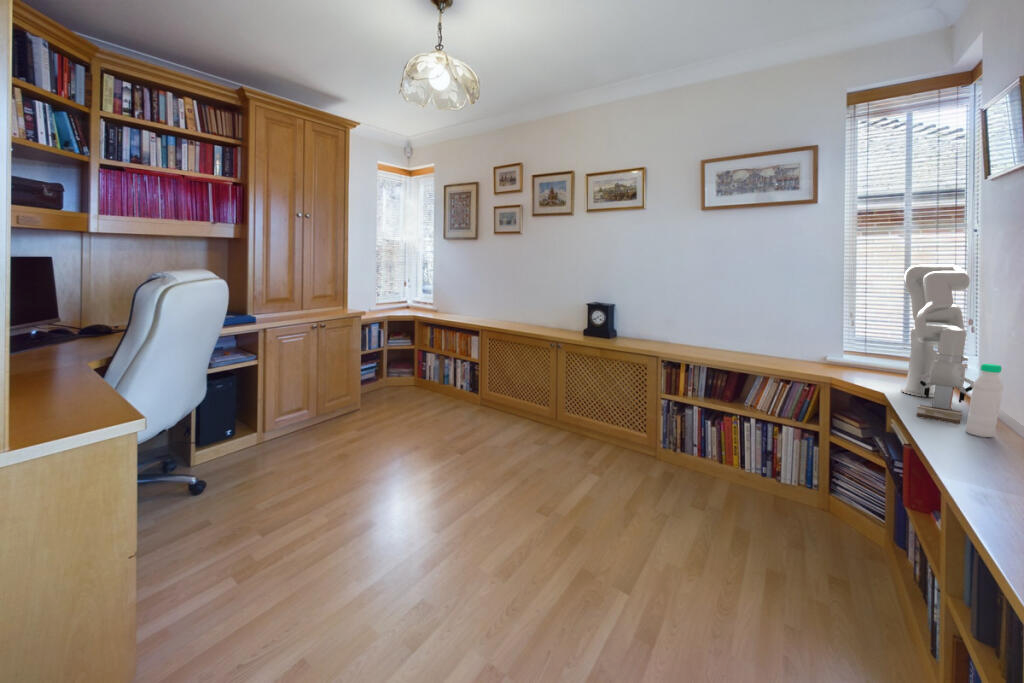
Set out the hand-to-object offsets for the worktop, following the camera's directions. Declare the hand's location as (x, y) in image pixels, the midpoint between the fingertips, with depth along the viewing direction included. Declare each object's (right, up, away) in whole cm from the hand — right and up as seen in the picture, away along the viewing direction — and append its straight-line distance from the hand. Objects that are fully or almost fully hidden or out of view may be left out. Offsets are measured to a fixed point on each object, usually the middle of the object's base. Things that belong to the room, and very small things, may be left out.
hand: (943, 399), depth 179 cm
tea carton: (0, -4, +1) cm, 4 cm away
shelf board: (-9, -5, -8) cm, 13 cm away
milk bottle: (-13, -9, -26) cm, 31 cm away
